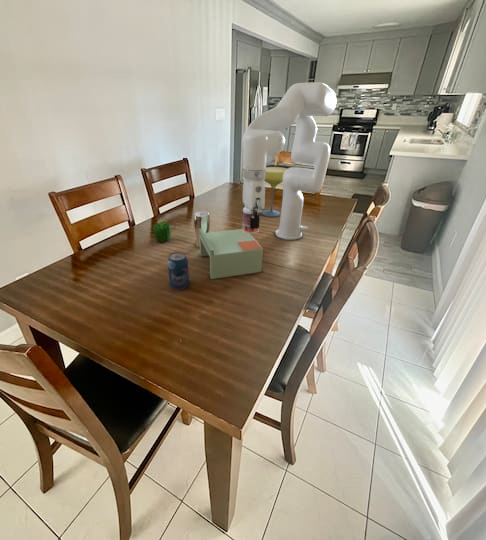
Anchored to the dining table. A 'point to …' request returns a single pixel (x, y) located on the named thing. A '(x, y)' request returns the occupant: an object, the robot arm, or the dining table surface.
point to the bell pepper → (162, 231)
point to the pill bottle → (248, 220)
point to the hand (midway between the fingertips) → (250, 224)
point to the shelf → (231, 253)
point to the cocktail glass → (273, 184)
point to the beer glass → (201, 224)
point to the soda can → (178, 270)
